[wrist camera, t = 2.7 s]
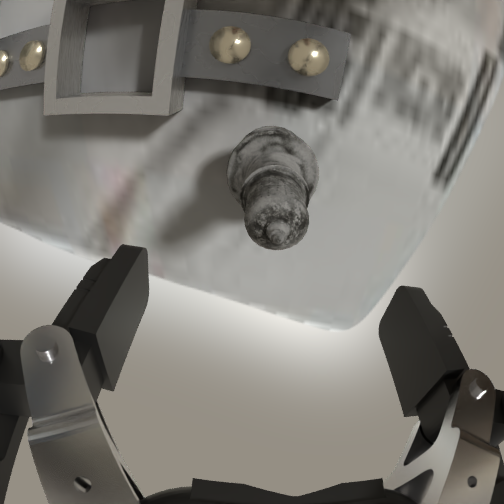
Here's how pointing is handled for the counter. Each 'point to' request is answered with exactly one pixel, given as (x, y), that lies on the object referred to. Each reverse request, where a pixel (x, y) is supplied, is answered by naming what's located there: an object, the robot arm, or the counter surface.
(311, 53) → the studded gray strap
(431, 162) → the counter surface
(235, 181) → the grey tall turned piece
